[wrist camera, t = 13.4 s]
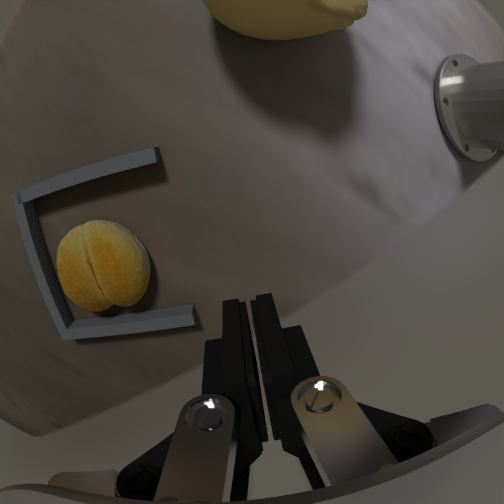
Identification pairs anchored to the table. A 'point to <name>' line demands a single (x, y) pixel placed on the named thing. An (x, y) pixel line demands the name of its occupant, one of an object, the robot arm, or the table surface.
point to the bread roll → (103, 266)
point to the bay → (45, 273)
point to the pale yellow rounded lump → (286, 16)
